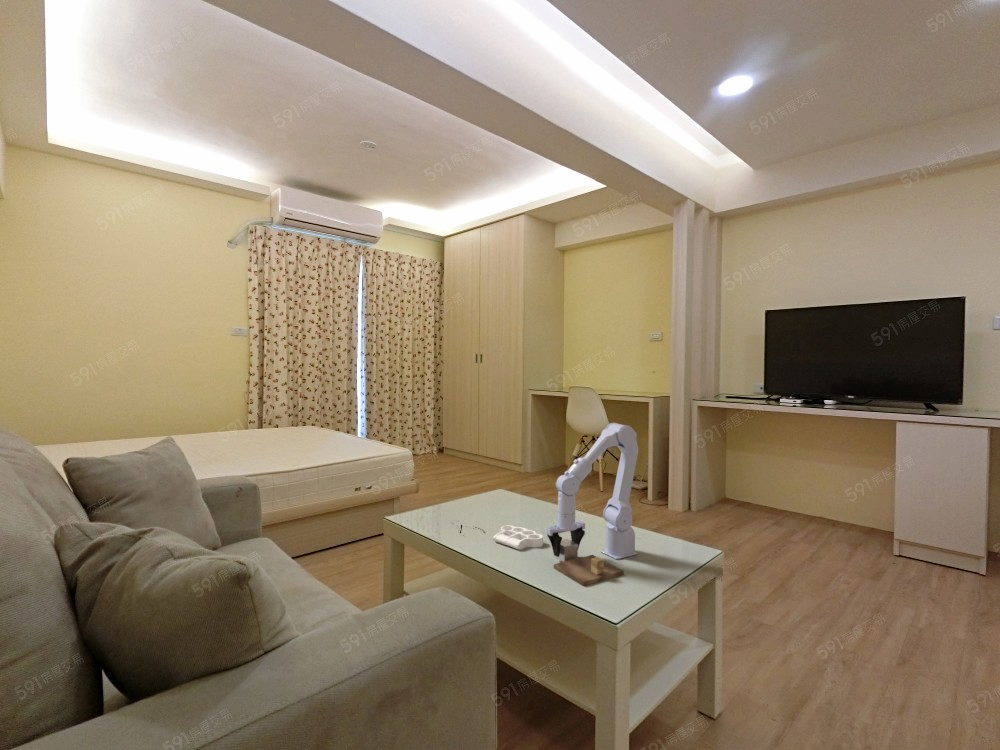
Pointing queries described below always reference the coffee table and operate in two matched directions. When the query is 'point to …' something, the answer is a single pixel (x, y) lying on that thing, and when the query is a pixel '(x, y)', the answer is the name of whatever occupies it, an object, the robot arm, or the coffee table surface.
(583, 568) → the walnut board
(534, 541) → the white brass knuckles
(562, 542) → the brushed aluminum cube
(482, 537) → the coffee table surface
